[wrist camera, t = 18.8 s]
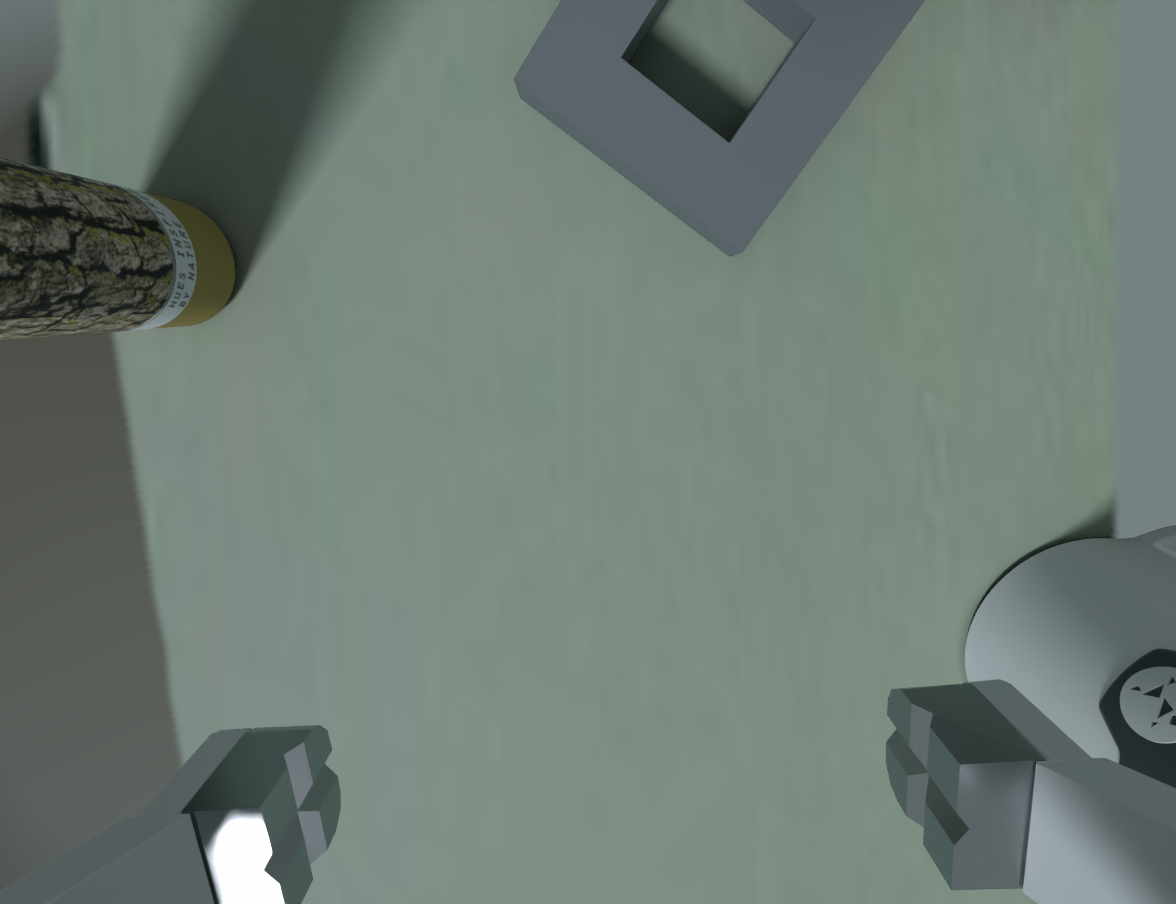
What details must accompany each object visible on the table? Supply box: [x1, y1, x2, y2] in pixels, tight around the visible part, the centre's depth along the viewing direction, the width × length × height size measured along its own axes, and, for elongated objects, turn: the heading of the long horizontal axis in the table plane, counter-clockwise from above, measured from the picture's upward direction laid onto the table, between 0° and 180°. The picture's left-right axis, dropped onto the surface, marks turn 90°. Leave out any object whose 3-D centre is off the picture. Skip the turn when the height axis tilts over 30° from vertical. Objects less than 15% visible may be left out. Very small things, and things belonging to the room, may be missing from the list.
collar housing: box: [514, 0, 925, 256], centre depth 31 cm, size 14×14×3 cm
